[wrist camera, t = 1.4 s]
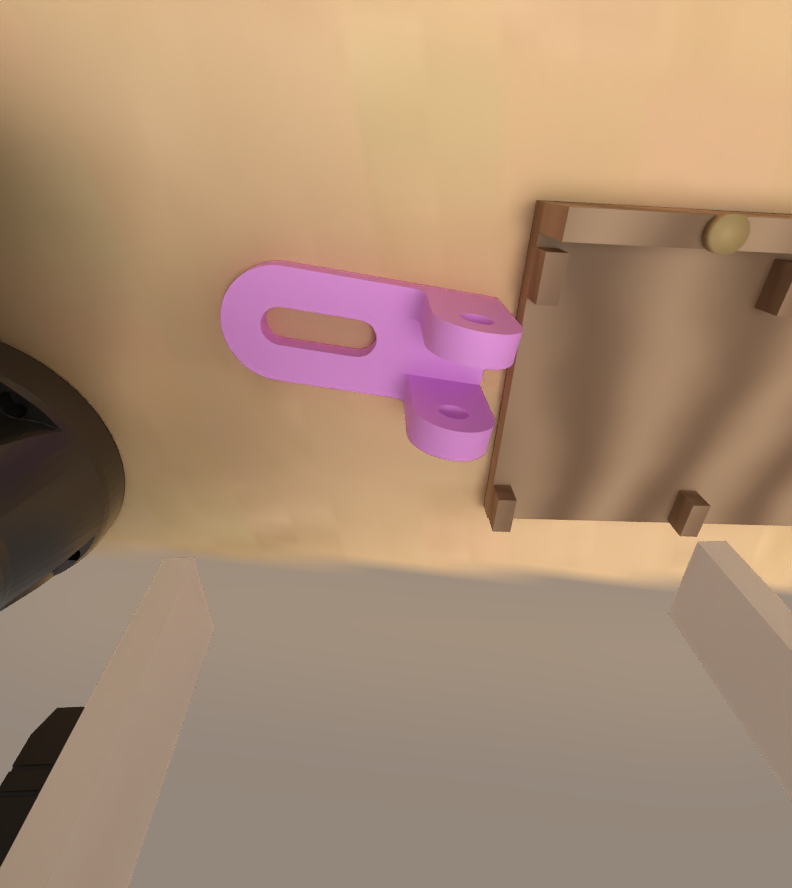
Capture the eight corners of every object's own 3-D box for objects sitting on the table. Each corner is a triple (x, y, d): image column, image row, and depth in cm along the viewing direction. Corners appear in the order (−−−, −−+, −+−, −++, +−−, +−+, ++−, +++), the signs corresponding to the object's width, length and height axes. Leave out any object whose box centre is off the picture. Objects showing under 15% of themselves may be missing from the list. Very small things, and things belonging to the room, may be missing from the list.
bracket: (496, 297, 24) (534, 340, 18) (469, 398, 27) (493, 466, 21) (228, 250, 23) (171, 280, 17) (228, 362, 25) (179, 423, 19)
